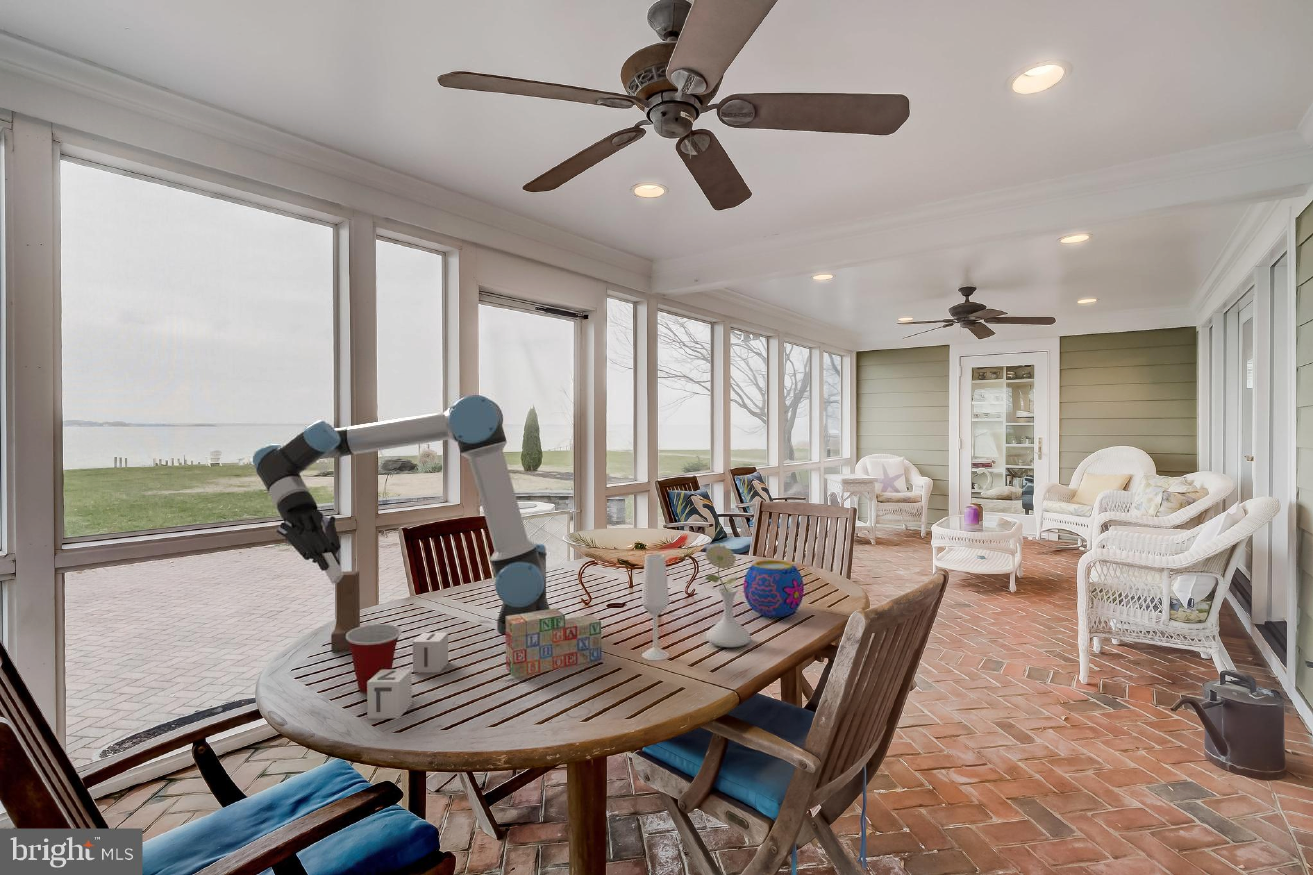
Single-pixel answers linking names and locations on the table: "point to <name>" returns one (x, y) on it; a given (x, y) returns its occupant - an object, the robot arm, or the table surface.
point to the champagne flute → (655, 598)
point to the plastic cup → (372, 650)
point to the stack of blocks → (550, 641)
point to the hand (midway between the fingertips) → (337, 579)
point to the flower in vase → (725, 602)
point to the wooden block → (346, 610)
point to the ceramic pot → (773, 588)
